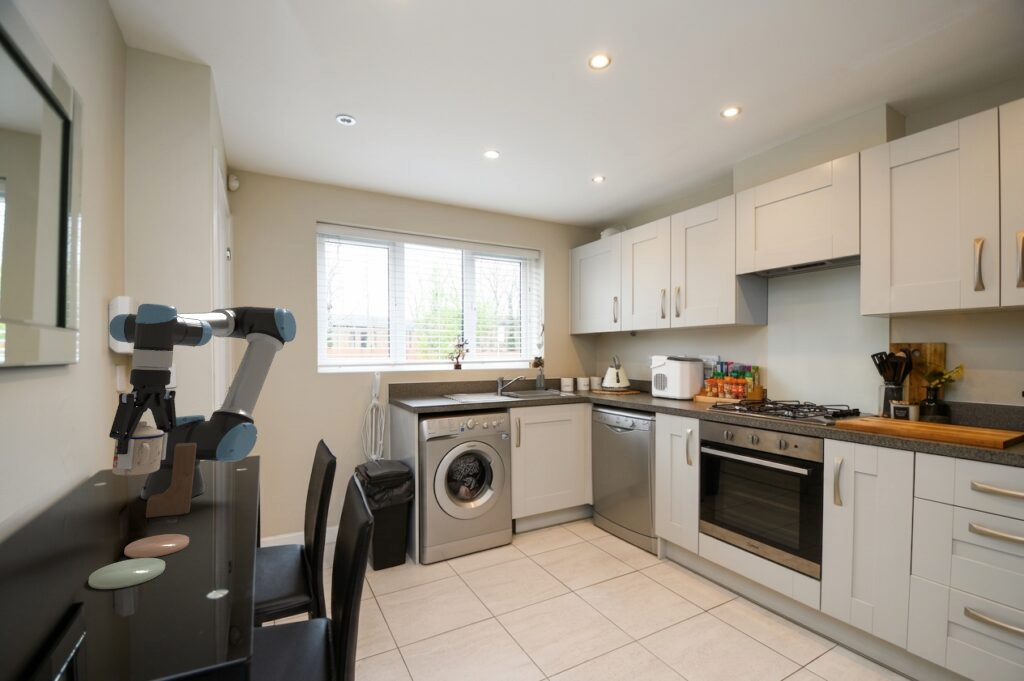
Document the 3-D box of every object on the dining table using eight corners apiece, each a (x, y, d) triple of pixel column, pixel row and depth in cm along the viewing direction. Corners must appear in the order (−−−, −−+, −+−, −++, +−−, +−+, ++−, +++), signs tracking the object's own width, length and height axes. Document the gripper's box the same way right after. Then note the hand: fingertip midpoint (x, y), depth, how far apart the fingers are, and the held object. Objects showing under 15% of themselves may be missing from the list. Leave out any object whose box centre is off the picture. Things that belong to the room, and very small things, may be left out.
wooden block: (145, 518, 112) (152, 446, 113) (147, 513, 116) (155, 443, 117) (188, 514, 117) (195, 445, 118) (190, 509, 121) (196, 442, 122)
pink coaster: (153, 536, 102) (153, 532, 102) (200, 539, 102) (201, 535, 102) (109, 556, 91) (110, 552, 91) (162, 559, 91) (163, 555, 91)
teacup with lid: (107, 470, 104) (112, 420, 105) (155, 465, 111) (160, 418, 112) (116, 480, 96) (122, 426, 97) (168, 474, 103) (173, 424, 104)
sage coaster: (124, 560, 89) (125, 556, 89) (178, 563, 89) (179, 559, 89) (70, 587, 78) (71, 582, 78) (132, 590, 78) (132, 586, 78)
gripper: (171, 367, 117) (162, 453, 116) (93, 368, 95) (81, 473, 94) (199, 369, 117) (191, 455, 116) (127, 369, 95) (116, 476, 94)
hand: (142, 463), depth 105 cm, fingers closed on teacup with lid, 9 cm apart
